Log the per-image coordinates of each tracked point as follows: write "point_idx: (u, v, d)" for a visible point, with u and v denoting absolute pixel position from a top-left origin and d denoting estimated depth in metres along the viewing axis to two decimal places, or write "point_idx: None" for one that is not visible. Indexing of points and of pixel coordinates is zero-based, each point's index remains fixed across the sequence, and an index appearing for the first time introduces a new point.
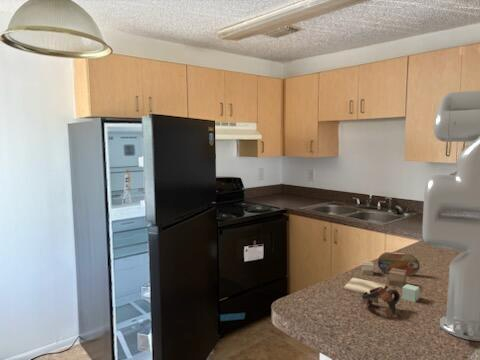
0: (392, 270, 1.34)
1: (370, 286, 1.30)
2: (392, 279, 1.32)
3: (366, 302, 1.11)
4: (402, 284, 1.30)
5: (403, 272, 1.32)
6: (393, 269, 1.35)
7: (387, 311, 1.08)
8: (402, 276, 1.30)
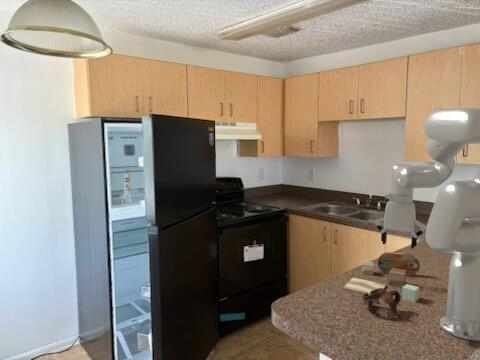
0: (392, 270, 1.34)
1: (370, 286, 1.30)
2: (392, 279, 1.32)
3: (367, 303, 1.10)
4: (402, 284, 1.30)
5: (403, 272, 1.32)
6: (393, 269, 1.35)
7: (388, 312, 1.07)
8: (402, 276, 1.30)
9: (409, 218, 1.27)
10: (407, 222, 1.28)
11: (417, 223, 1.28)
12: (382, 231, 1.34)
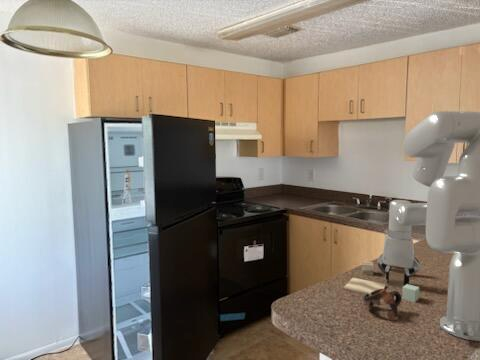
0: (392, 270, 1.34)
1: (370, 286, 1.30)
2: (392, 279, 1.32)
3: (368, 304, 1.09)
4: (402, 284, 1.30)
5: (403, 272, 1.32)
6: (393, 269, 1.35)
7: (389, 313, 1.06)
8: (402, 275, 1.30)
9: (408, 254, 1.28)
10: (406, 258, 1.29)
11: (413, 261, 1.30)
12: (387, 270, 1.34)
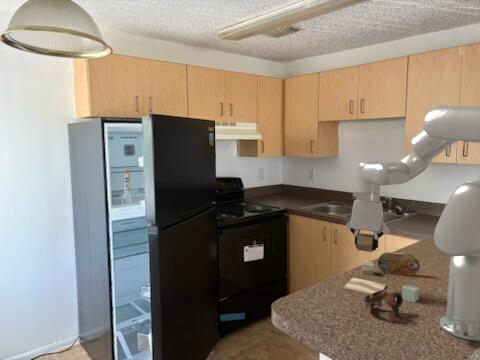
0: (360, 234, 1.29)
1: (370, 286, 1.30)
2: (360, 243, 1.28)
3: (369, 306, 1.08)
4: (370, 248, 1.26)
5: (372, 236, 1.27)
6: (362, 234, 1.30)
7: (391, 315, 1.05)
8: (371, 239, 1.25)
9: (376, 217, 1.24)
10: (374, 221, 1.24)
11: (382, 224, 1.25)
12: (355, 234, 1.29)
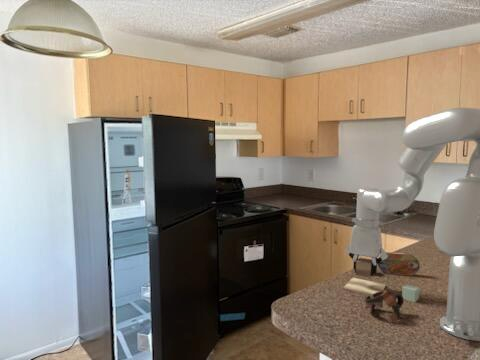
0: (359, 259, 1.30)
1: (370, 286, 1.30)
2: (359, 268, 1.29)
3: (370, 307, 1.08)
4: (369, 273, 1.27)
5: (370, 261, 1.28)
6: (361, 258, 1.31)
7: (392, 316, 1.05)
8: (369, 265, 1.26)
9: (374, 243, 1.25)
10: (372, 247, 1.25)
11: (380, 250, 1.26)
12: (354, 259, 1.30)
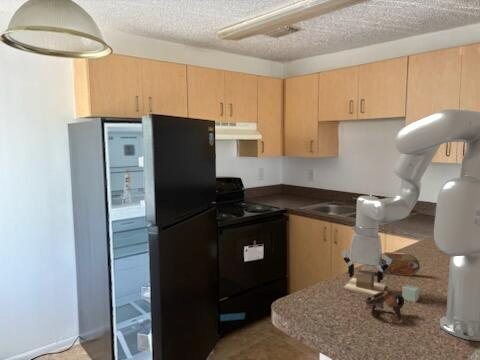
0: (359, 271, 1.30)
1: None
2: (359, 280, 1.29)
3: (371, 307, 1.07)
4: (369, 286, 1.27)
5: (371, 273, 1.28)
6: (361, 270, 1.32)
7: (393, 317, 1.04)
8: (370, 277, 1.27)
9: (374, 251, 1.25)
10: (372, 255, 1.25)
11: (383, 256, 1.25)
12: (349, 264, 1.31)
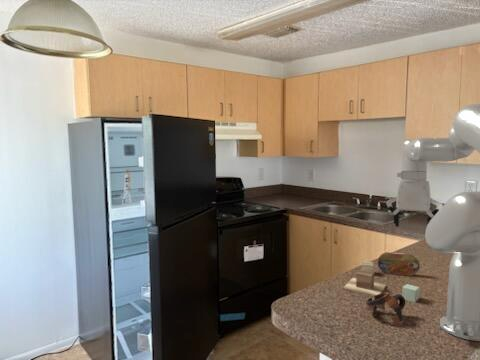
0: (359, 271, 1.30)
1: None
2: (359, 280, 1.29)
3: (372, 309, 1.06)
4: (369, 286, 1.27)
5: (371, 273, 1.28)
6: (361, 270, 1.32)
7: (394, 318, 1.04)
8: (370, 277, 1.27)
9: (424, 196, 1.19)
10: (422, 200, 1.19)
11: (433, 201, 1.20)
12: (395, 212, 1.25)
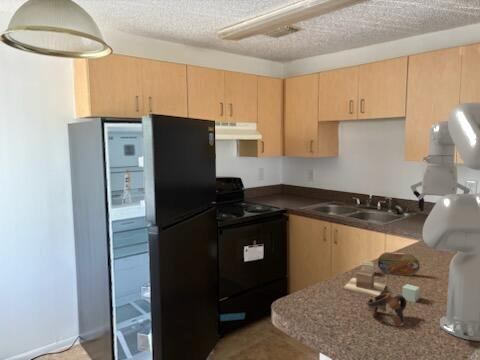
0: (359, 271, 1.30)
1: None
2: (359, 280, 1.29)
3: (373, 310, 1.05)
4: (369, 286, 1.27)
5: (371, 273, 1.28)
6: (361, 270, 1.32)
7: (395, 319, 1.03)
8: (370, 277, 1.27)
9: (451, 180, 1.17)
10: (449, 185, 1.17)
11: (460, 186, 1.17)
12: (420, 197, 1.23)
